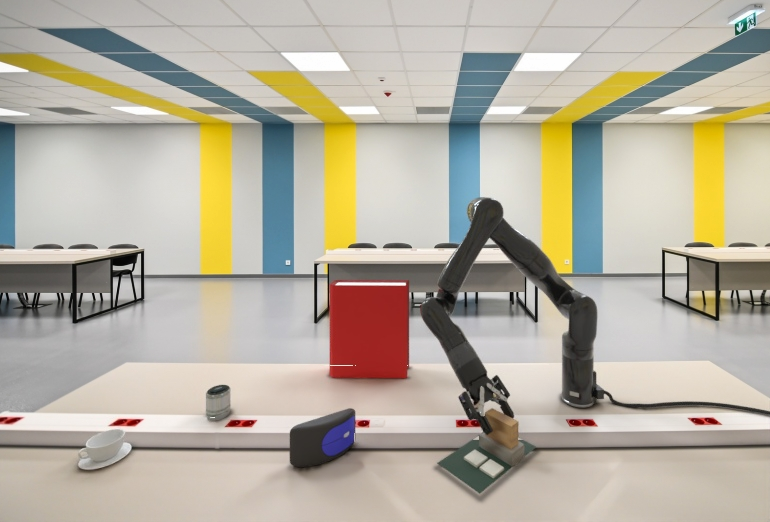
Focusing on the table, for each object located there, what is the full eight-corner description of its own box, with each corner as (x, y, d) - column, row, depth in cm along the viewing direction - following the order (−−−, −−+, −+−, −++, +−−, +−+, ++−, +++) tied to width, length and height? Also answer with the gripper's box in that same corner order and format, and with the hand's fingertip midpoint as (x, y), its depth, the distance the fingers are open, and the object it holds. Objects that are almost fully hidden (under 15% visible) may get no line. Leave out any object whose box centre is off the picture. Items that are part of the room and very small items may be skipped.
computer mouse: (293, 476, 91) (293, 435, 91) (288, 465, 95) (288, 425, 95) (360, 450, 100) (360, 413, 100) (353, 441, 104) (353, 404, 104)
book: (409, 367, 146) (409, 280, 146) (407, 378, 138) (407, 285, 138) (334, 367, 146) (334, 279, 146) (328, 377, 138) (328, 285, 138)
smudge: (490, 461, 94) (490, 458, 94) (504, 469, 91) (504, 467, 91) (479, 469, 92) (479, 467, 92) (493, 478, 89) (493, 476, 89)
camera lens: (202, 415, 115) (202, 388, 115) (225, 406, 120) (225, 380, 120) (210, 424, 111) (210, 396, 111) (234, 414, 116) (234, 387, 116)
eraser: (478, 446, 100) (478, 412, 100) (491, 437, 103) (491, 404, 103) (512, 466, 93) (512, 430, 92) (524, 456, 96) (524, 421, 96)
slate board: (494, 428, 109) (494, 424, 109) (536, 451, 100) (536, 446, 100) (436, 468, 94) (436, 463, 94) (479, 499, 84) (479, 493, 84)
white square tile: (474, 451, 98) (474, 449, 98) (487, 459, 95) (487, 457, 95) (463, 459, 95) (463, 456, 95) (476, 467, 92) (476, 465, 92)
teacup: (128, 439, 105) (128, 421, 105) (134, 457, 97) (134, 438, 97) (76, 457, 98) (76, 437, 98) (79, 478, 90) (79, 457, 90)
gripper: (455, 365, 99) (491, 432, 91) (491, 349, 109) (527, 408, 101) (440, 379, 103) (473, 444, 95) (476, 362, 113) (509, 420, 105)
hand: (501, 425), depth 98 cm, fingers open, 8 cm apart
